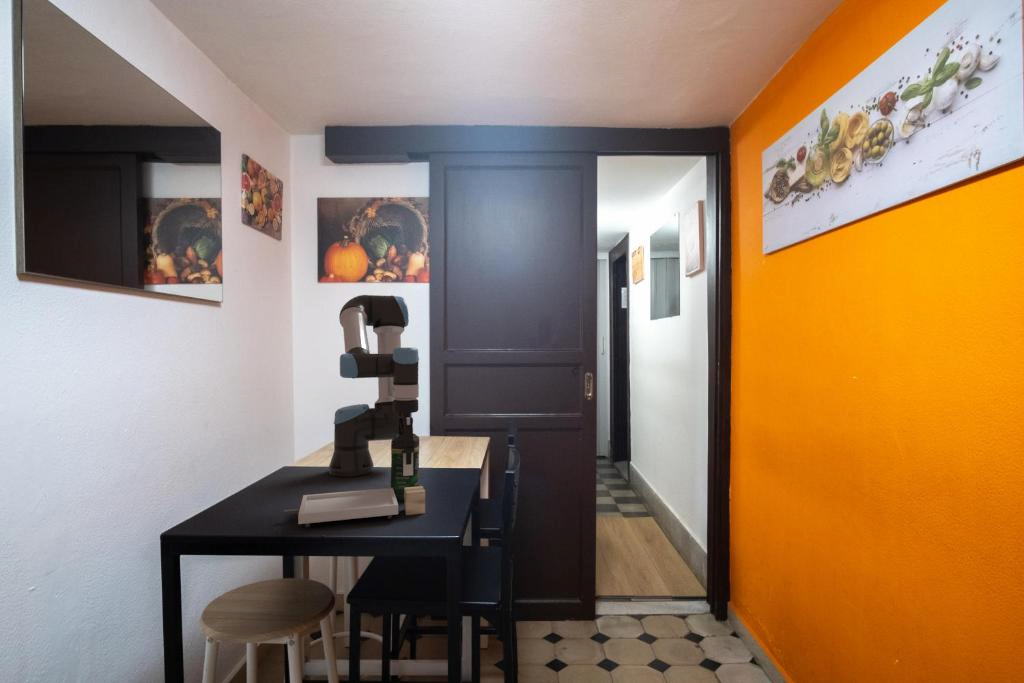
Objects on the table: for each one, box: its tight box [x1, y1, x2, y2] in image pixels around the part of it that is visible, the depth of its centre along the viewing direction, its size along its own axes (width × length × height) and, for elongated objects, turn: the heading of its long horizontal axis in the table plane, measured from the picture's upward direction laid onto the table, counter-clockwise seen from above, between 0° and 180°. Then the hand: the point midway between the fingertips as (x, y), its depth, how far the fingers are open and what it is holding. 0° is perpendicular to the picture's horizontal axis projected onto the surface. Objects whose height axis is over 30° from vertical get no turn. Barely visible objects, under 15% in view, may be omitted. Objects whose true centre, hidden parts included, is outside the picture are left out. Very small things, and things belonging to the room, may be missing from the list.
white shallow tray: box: [283, 487, 399, 528], centre depth 134 cm, size 16×28×4 cm, turn 108°
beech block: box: [403, 485, 426, 516], centre depth 139 cm, size 5×5×6 cm
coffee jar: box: [389, 433, 420, 501], centre depth 151 cm, size 10×8×19 cm
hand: (405, 469), depth 151 cm, fingers open, 13 cm apart
